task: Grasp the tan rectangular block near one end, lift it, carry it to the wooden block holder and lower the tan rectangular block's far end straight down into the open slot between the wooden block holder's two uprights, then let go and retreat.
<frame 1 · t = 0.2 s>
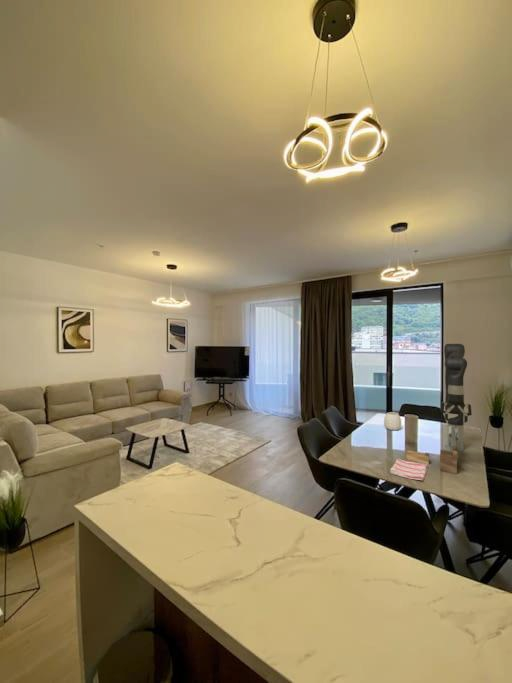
hand: (456, 421, 169), 29 cm above the table, fingers open, 8 cm apart
cup: (392, 429, 252), on the table
wooden block holder: (448, 469, 174), on the table
bracket: (451, 460, 185), on the table, touching wooden block holder
dish towel: (409, 471, 172), on the table
tan rectangular block: (417, 461, 185), on the table
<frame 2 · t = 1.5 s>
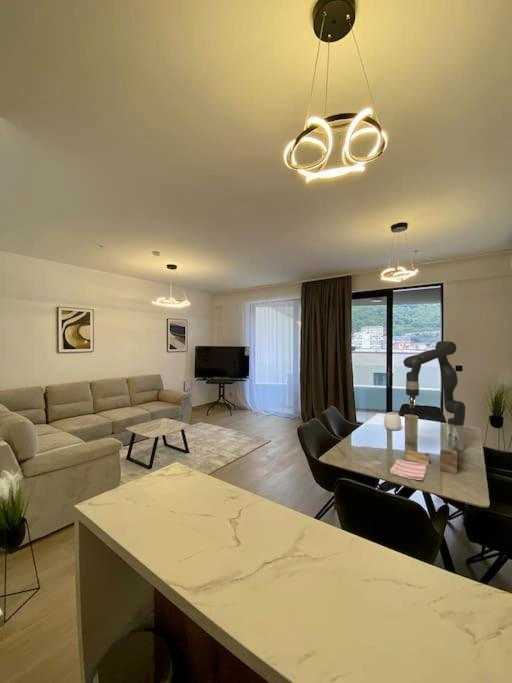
hand: (412, 412, 194), 28 cm above the table, fingers open, 8 cm apart
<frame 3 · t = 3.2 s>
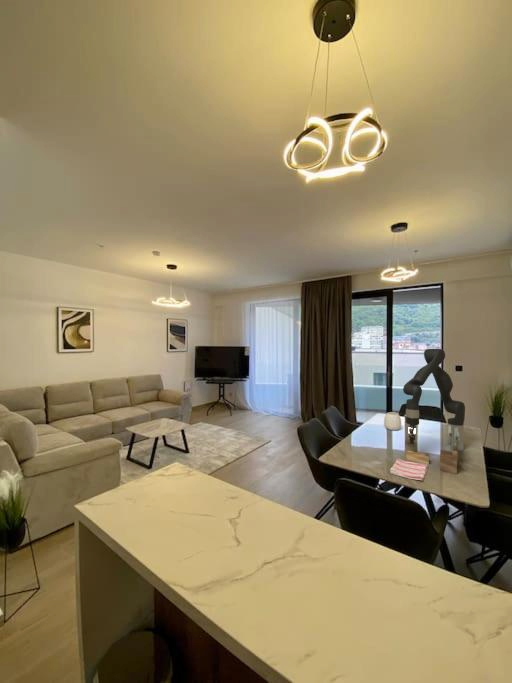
hand: (412, 441, 187), 11 cm above the table, fingers open, 8 cm apart
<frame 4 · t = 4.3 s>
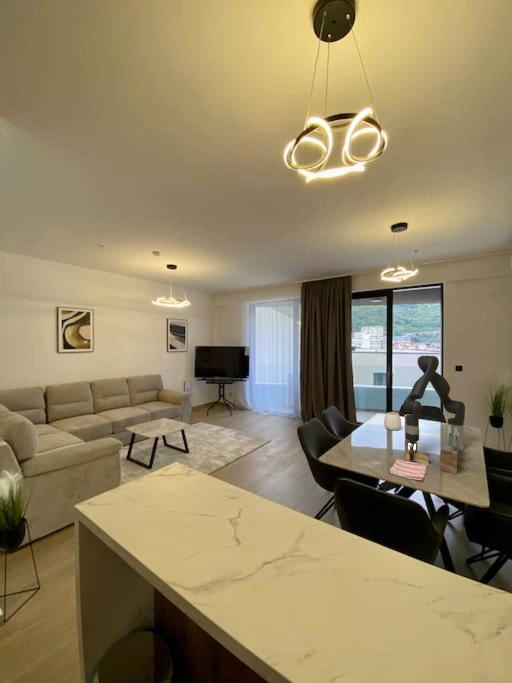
hand: (412, 457, 187), 1 cm above the table, fingers open, 8 cm apart
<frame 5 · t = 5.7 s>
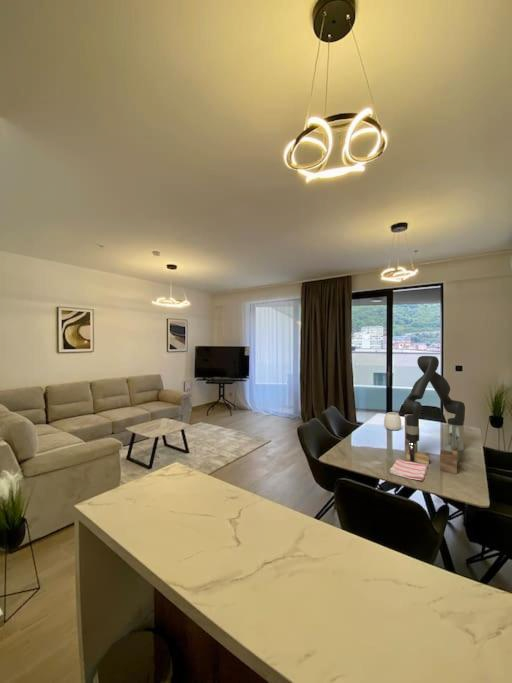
hand: (412, 459, 187), 0 cm above the table, fingers closed on tan rectangular block, 4 cm apart
tan rectangular block: (417, 461, 185), on the table, touching gripper
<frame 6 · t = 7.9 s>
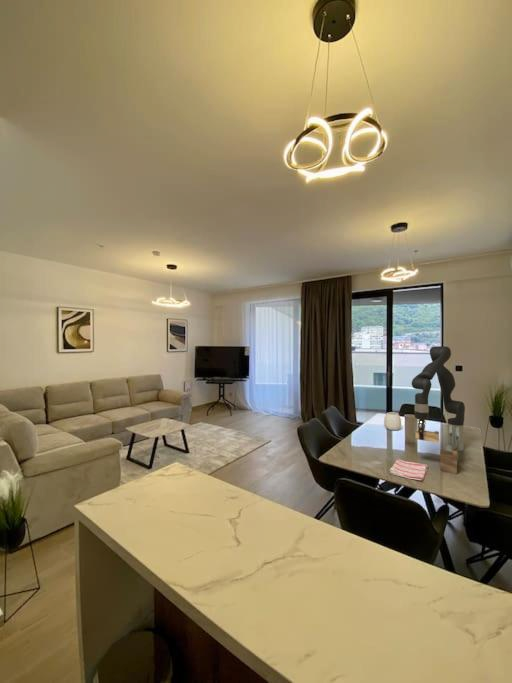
hand: (421, 438, 182), 15 cm above the table, fingers closed on tan rectangular block, 4 cm apart
tan rectangular block: (427, 439, 181), point 15 cm above the table, touching gripper
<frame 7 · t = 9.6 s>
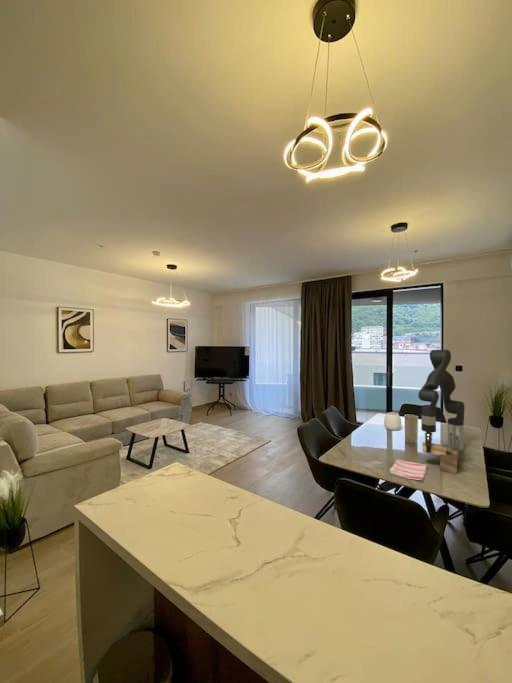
hand: (428, 451, 179), 8 cm above the table, fingers closed on tan rectangular block, 4 cm apart
tan rectangular block: (434, 452, 177), point 8 cm above the table, touching gripper
when the fingers open (2 cm above the table, at t = 11.2 s): tan rectangular block drops 1 cm, on the table.
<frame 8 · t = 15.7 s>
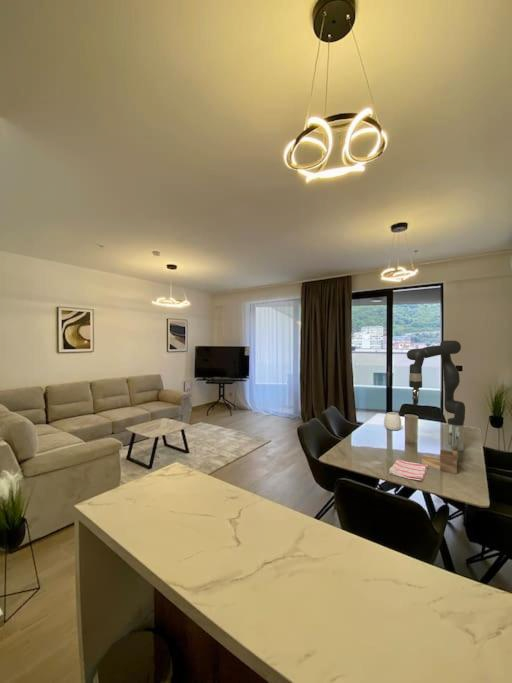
hand: (415, 404, 195), 33 cm above the table, fingers open, 8 cm apart
tan rectangular block: (433, 466, 177), on the table
at the end: tan rectangular block 0.8 cm from the target spot on the table beside the wooden block holder, on the table; tan rectangular block tilted 0°; the gripper is holding nothing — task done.
